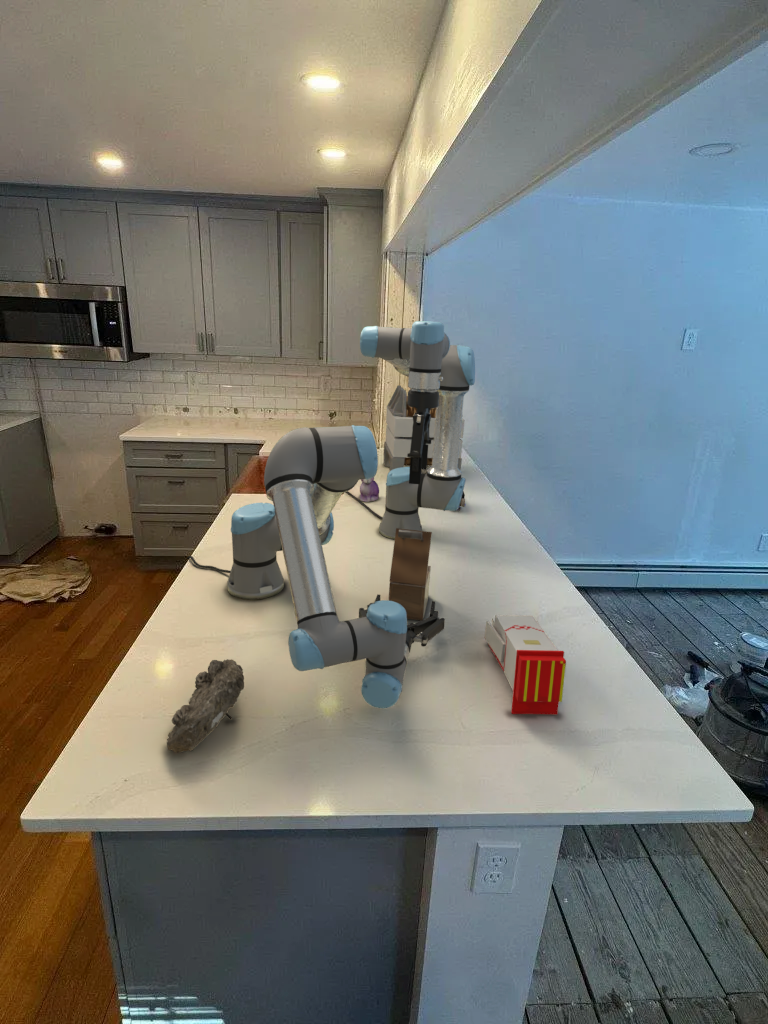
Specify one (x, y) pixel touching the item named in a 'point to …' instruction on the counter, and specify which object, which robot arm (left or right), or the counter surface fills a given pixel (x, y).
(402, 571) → the lid
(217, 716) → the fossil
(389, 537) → the right robot arm
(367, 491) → the figurine
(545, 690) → the toy
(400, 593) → the brown hollow box
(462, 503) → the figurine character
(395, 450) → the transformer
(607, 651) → the counter surface
